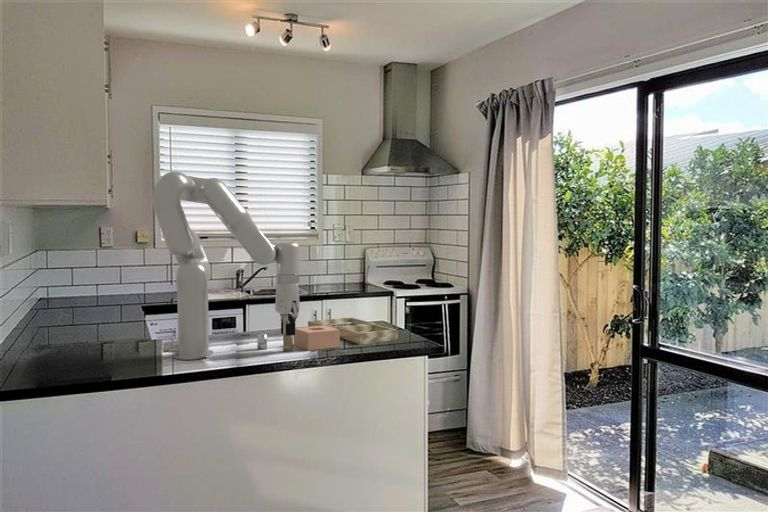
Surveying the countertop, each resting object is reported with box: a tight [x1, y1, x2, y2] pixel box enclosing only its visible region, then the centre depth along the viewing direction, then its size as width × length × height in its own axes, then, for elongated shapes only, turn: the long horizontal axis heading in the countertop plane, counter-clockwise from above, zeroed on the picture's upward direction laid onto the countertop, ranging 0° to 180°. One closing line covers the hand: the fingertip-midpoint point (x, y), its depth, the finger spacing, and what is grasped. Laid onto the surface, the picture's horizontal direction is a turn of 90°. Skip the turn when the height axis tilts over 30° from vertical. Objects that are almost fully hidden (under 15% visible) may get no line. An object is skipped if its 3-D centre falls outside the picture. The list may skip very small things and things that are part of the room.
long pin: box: [282, 315, 294, 353], centre depth 201 cm, size 3×3×12 cm
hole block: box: [293, 325, 341, 352], centre depth 210 cm, size 12×12×6 cm
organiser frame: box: [307, 317, 398, 346], centre depth 233 cm, size 20×38×4 cm, turn 33°
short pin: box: [256, 333, 268, 351], centre depth 204 cm, size 3×3×5 cm
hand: (288, 333), depth 201 cm, fingers closed on long pin, 3 cm apart
